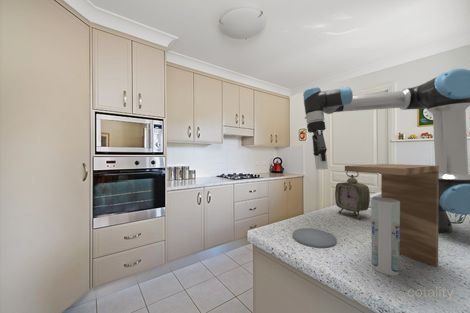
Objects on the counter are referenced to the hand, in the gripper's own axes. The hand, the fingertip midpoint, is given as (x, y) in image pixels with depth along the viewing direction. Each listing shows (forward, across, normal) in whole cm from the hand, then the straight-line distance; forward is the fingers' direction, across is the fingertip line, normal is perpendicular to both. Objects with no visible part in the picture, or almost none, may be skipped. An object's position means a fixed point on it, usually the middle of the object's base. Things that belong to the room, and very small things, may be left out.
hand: (321, 169), depth 86 cm
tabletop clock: (+27, -26, +16) cm, 41 cm away
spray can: (+30, +27, +9) cm, 41 cm away
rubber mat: (+26, +10, -8) cm, 29 cm away
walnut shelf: (+30, +24, +12) cm, 40 cm away
